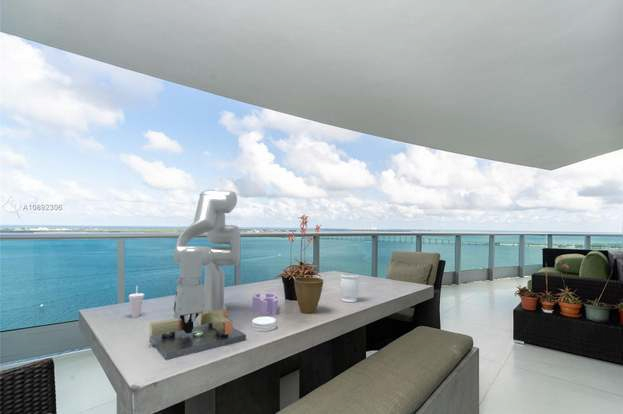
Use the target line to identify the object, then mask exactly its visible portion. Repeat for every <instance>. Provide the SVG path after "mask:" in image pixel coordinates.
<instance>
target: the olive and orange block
mask: <svg viewBox="0 0 623 414" xmlns="http://www.w3.org/2000/svg"><path fill="white" fill-rule="evenodd" d="M183 327H184V321H183V320H182V319H178V318H169V319H165V320H159V321H151V322H150V323H149V336H150V335H151V336H157V335H162V337H163V338H171V337H174V336H175V332H177V331H182V330H183Z"/></svg>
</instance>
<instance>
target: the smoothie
mask: <svg viewBox="0 0 623 414" xmlns="http://www.w3.org/2000/svg"><path fill="white" fill-rule="evenodd" d="M138 288H139V285H136V287H135V290H136V291H135V293H130V294H129V295H128V299H129V313H130V317H131V318H138V317H140V316H141V312H142V307H143V301H144V297H145V293H142V292H140V293H139V292H138Z"/></svg>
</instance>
